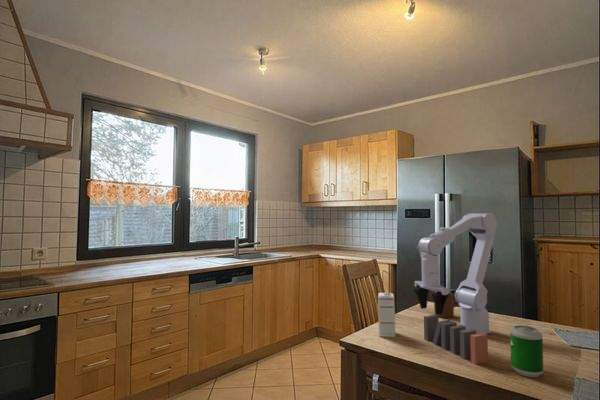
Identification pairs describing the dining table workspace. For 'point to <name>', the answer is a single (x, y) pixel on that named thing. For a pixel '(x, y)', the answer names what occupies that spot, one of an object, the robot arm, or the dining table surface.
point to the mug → (448, 307)
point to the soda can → (526, 351)
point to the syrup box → (386, 314)
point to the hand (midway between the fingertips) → (431, 311)
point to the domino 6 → (479, 348)
